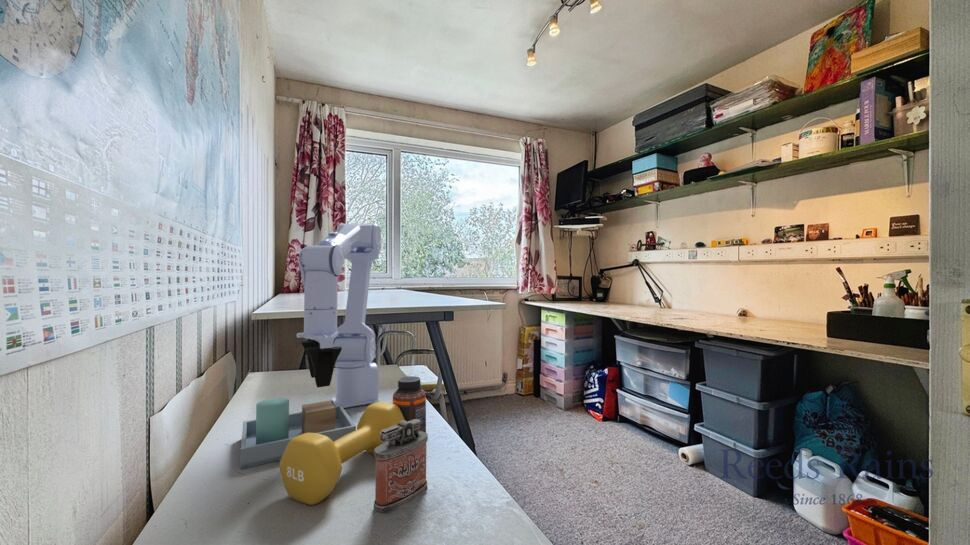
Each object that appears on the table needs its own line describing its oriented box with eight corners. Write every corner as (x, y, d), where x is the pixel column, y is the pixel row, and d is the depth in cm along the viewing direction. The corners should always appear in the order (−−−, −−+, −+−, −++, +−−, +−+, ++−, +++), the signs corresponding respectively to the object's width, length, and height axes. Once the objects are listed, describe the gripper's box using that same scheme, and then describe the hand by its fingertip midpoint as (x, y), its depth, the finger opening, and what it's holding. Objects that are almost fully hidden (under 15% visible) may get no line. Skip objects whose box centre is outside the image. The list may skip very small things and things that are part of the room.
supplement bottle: (429, 435, 69) (429, 374, 69) (421, 449, 63) (421, 383, 63) (398, 434, 70) (399, 374, 70) (387, 448, 64) (387, 382, 64)
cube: (301, 431, 69) (302, 404, 69) (329, 425, 72) (330, 400, 72) (305, 441, 65) (305, 412, 65) (335, 434, 68) (335, 407, 68)
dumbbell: (371, 442, 66) (371, 396, 67) (412, 452, 63) (412, 404, 63) (271, 498, 49) (272, 436, 49) (319, 516, 45) (320, 449, 46)
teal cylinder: (259, 438, 66) (260, 399, 66) (290, 434, 68) (291, 396, 68) (252, 451, 61) (253, 408, 61) (286, 446, 63) (286, 405, 63)
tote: (341, 419, 77) (341, 405, 77) (355, 443, 66) (355, 426, 66) (242, 438, 68) (243, 421, 68) (240, 469, 57) (240, 449, 57)
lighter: (416, 480, 53) (417, 411, 54) (432, 489, 51) (433, 417, 51) (368, 507, 47) (368, 428, 47) (383, 518, 45) (384, 435, 45)
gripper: (293, 307, 73) (292, 375, 73) (301, 312, 61) (300, 394, 61) (331, 305, 77) (330, 371, 77) (346, 310, 65) (345, 388, 64)
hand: (320, 381), depth 69 cm, fingers open, 7 cm apart
